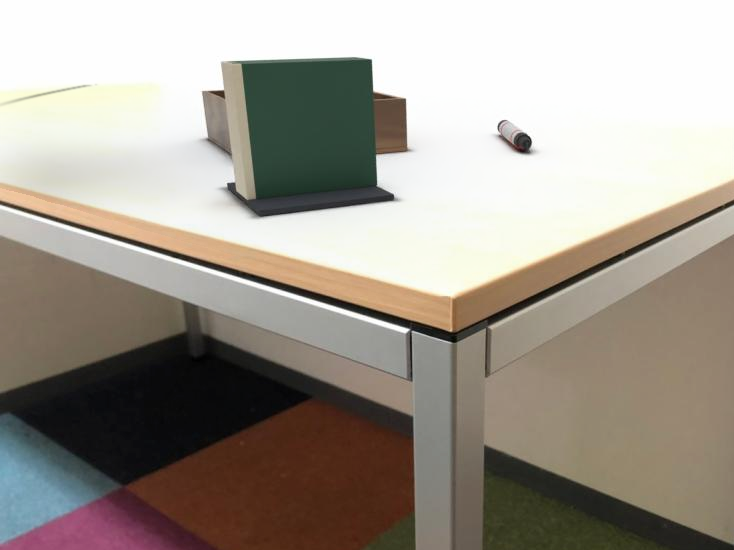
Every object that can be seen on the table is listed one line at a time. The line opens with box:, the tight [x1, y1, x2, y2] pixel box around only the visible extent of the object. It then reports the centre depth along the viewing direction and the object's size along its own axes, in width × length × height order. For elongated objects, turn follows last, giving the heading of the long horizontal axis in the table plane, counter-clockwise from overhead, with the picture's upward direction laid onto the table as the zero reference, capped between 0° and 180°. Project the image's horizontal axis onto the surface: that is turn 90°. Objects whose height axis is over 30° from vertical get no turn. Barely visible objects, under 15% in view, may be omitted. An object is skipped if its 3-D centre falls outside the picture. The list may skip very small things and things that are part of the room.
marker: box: [496, 119, 533, 152], centre depth 93 cm, size 15×2×2 cm, turn 7°
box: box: [201, 89, 408, 156], centre depth 92 cm, size 21×19×6 cm
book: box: [220, 56, 378, 200], centre depth 66 cm, size 4×12×11 cm, turn 118°
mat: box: [226, 181, 395, 217], centre depth 68 cm, size 12×12×1 cm
